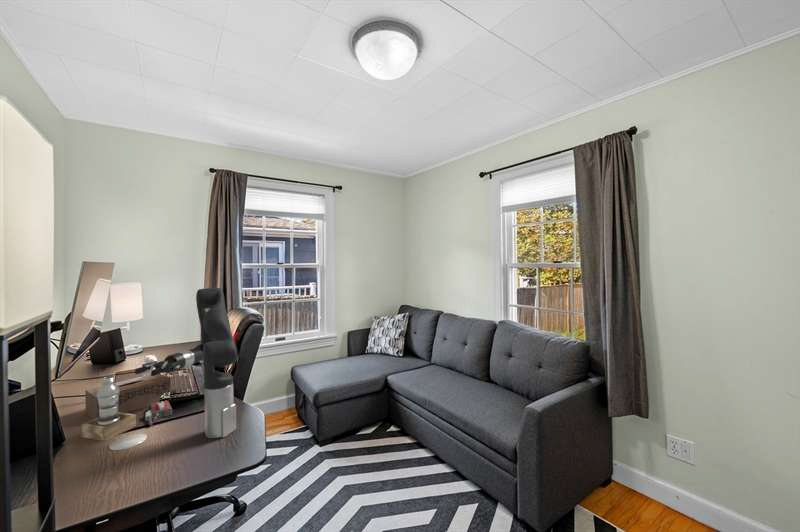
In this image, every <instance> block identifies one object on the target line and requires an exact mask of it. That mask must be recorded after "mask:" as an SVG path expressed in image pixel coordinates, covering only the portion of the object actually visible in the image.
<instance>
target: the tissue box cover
mask: <svg viewBox="0 0 800 532" xmlns="http://www.w3.org/2000/svg"><path fill="white" fill-rule="evenodd" d="M171 381H172V379H171V377H170V376H167V375H165V374H163V373H162V374H158V375H155V376H151V374H149V375H145V376H143V375H142V376H138V377H134V378H129V379H124V380H121V381H117V382H116V381H115V382H114V383H115V384H116V385H117V386H118V387H119V389H120V392H119V399H118V411H119V412H120V413H128V414H129V413H130V412H134V411H137V410H140V409H143V408H144V409H145V408H146V407H150V405H151V404H153V403H157V402H159V400H160V397H161V396H162V395H163V394H164V393H166V392H170V391H171V392H172V382H171ZM101 386H102V385H101ZM101 386H97V387H93V388H89V389H85V391H84V392H85V393H84V396H85V414H86V415H87V414H88V415H87V416H88V417H90V418H91V419H92V418H93V419H96V418H98V417H99V403H98V398H97V393H98V390H99V389H100V388H101ZM93 419H92V420H93Z"/></svg>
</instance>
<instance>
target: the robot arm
mask: <svg viewBox="0 0 800 532" xmlns="http://www.w3.org/2000/svg"><path fill="white" fill-rule="evenodd" d="M195 295H196V296H195V301H196V309H197V310H196V311H197V314H198V320H199V324H200V338H201V343H200V344H198V345H196V346H195V347H193V348H190V349H187V350H182V351H178V352H176V353H172V354H169V355H167V356H165V359H164V360H159V361H158V360H157V361H153V362H150V363H146V364H145V363H144V364H141V366H140V367H138V368H135V369H134V373H135V375H140V374H142V373H145V372H150V371H151V376H155V375H158V374H161V373H162V374H171V373H173V372H176V371H180V370H182V369H185V368H188V367H189V366H191V365H194V364H196V363H197V364H198V363H200V362H201V361H202V362H203V375H204V376H203V377H204V379H203V381H204V383H203V385H204V386H203V388H204V432H205V433H204V435H205V437H206V438H208V439H219V438H225V437H227V436H228V435H229V434H231V433H233V432H235V431H236V430H237V404H236V403H234V402H235V401H234V376H233V375H232V374H231V373H228V372H221V371H218V370H216V369H215V368H218V367H225V366H229V365H233V364H235V363H236V361H237V358H238V348H237V345H236V341H235V339H234V336H233V334H232V331H231V324H230V320H229V315H228V312H227V309H226V301H225V294H224V290H222V289H221V288H219V287H210V288H209V287H208V288H199V289H198V290H197V291H196V294H195ZM206 310H207V311H206ZM153 368H155V369H153Z"/></svg>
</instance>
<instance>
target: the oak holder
mask: <svg viewBox="0 0 800 532" xmlns="http://www.w3.org/2000/svg"><path fill="white" fill-rule="evenodd" d="M119 416H120V421H118V422H115V423H113V424H111V425H109V426H106V427H103V426H98V421H99V417H98V418H96V419H91V420H89V421H86V422H84V423H81V424H80V437H81V438H85V439H92V440H97V441H103V442H106V441H108V440H110V439H112V438H114V437H117V436H119V435H121V434H123V433H126V432H128V431H129V430H132V429H134V428H135V426H136V427H137V414H134V413H129V412H128V413H120V412H119ZM133 427H134V428H133Z"/></svg>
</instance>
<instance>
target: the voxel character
mask: <svg viewBox="0 0 800 532" xmlns="http://www.w3.org/2000/svg"><path fill="white" fill-rule="evenodd" d="M153 361H157V362H158V360H157V356H155V355H154V354H153V355H152V354H149V355H146V356H145V358H144V364H146V363H150V362H153ZM153 369H155V368H153ZM149 374H151V371H149V372H147V373H144V374H143V375H142V376H145V375H149ZM161 374H162V375H163V373H161Z"/></svg>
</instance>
